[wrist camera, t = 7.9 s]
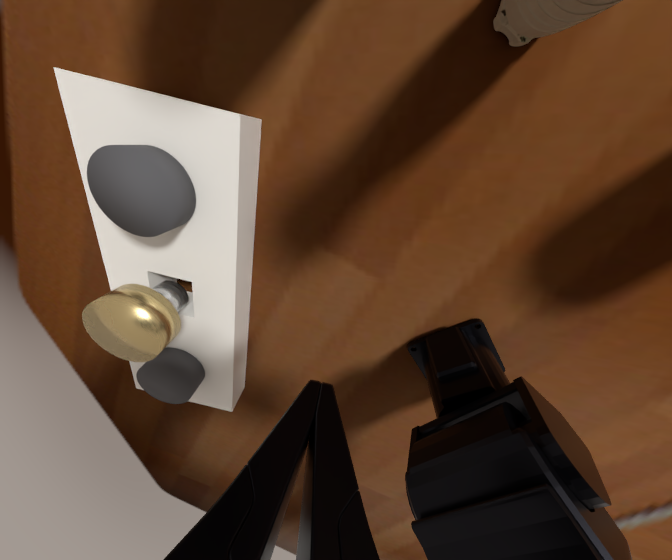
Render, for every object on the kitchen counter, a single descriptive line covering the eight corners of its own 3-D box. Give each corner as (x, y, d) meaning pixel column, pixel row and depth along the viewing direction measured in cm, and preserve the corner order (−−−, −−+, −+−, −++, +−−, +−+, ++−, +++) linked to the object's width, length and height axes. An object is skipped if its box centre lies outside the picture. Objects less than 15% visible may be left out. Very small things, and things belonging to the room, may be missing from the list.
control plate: (244, 387, 28) (232, 411, 26) (157, 365, 28) (136, 388, 26) (261, 119, 16) (240, 114, 13) (105, 79, 16) (53, 67, 13)
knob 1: (219, 223, 19) (177, 245, 15) (157, 208, 19) (98, 226, 15) (218, 154, 17) (169, 158, 13) (147, 136, 17) (75, 134, 13)
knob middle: (204, 325, 21) (164, 369, 17) (147, 310, 21) (93, 352, 17) (202, 274, 18) (154, 312, 14) (138, 258, 18) (72, 291, 14)
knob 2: (220, 368, 27) (193, 409, 23) (176, 357, 27) (141, 396, 23) (219, 334, 24) (190, 373, 20) (171, 322, 24) (131, 358, 20)
